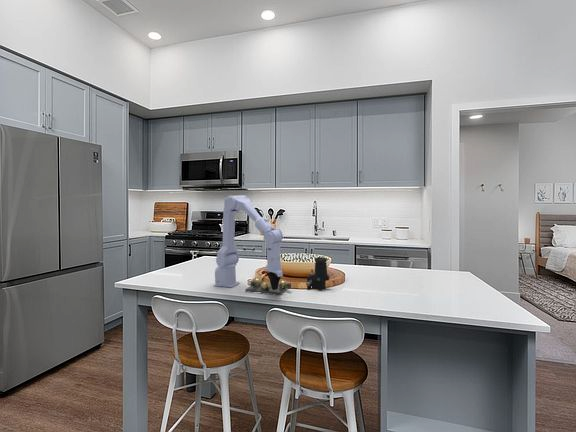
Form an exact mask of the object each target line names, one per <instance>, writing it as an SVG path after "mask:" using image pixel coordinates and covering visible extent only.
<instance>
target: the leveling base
mask: <svg viewBox="0 0 576 432" xmlns="http://www.w3.org/2000/svg"><path fill="white" fill-rule="evenodd" d="M269 284H270V282H269ZM289 289H290V288H287V287H285V288H281V287H279V284H278V289H277V290H272V288H271V287H269V289H267V290H263V289H261V284H260V285H255V286H251V285H249V286H248V287H247V288H245V292H246V291H250V292H249V293H254V292H261V293H260V294H263V293H269V294H268V295H273V294H275V295H276V296H282V295H283V294H285V293H286V292H287V291H288V290H289Z"/></svg>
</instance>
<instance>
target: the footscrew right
mask: <svg viewBox="0 0 576 432" xmlns="http://www.w3.org/2000/svg"><path fill="white" fill-rule="evenodd" d="M269 283H270V281H261V289H263V290H267V289H269V287H271V284H269Z"/></svg>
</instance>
